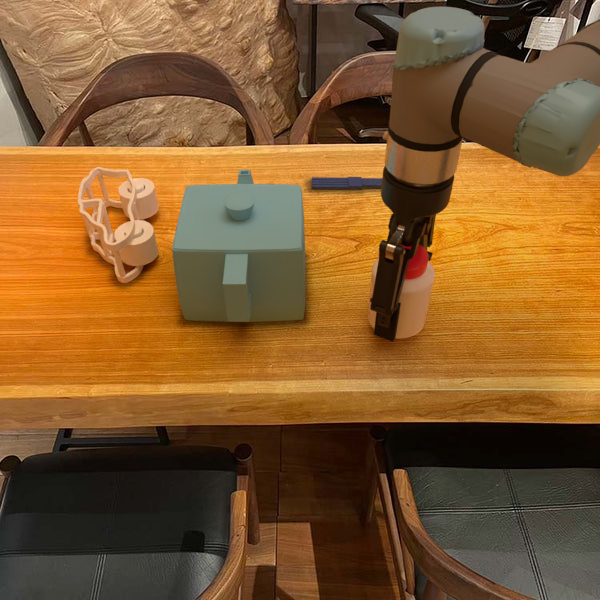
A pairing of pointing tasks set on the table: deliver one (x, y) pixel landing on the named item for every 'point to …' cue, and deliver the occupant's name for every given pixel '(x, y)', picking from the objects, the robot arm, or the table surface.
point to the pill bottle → (410, 294)
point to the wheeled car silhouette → (129, 236)
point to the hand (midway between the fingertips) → (396, 315)
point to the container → (241, 252)
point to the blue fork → (345, 183)
